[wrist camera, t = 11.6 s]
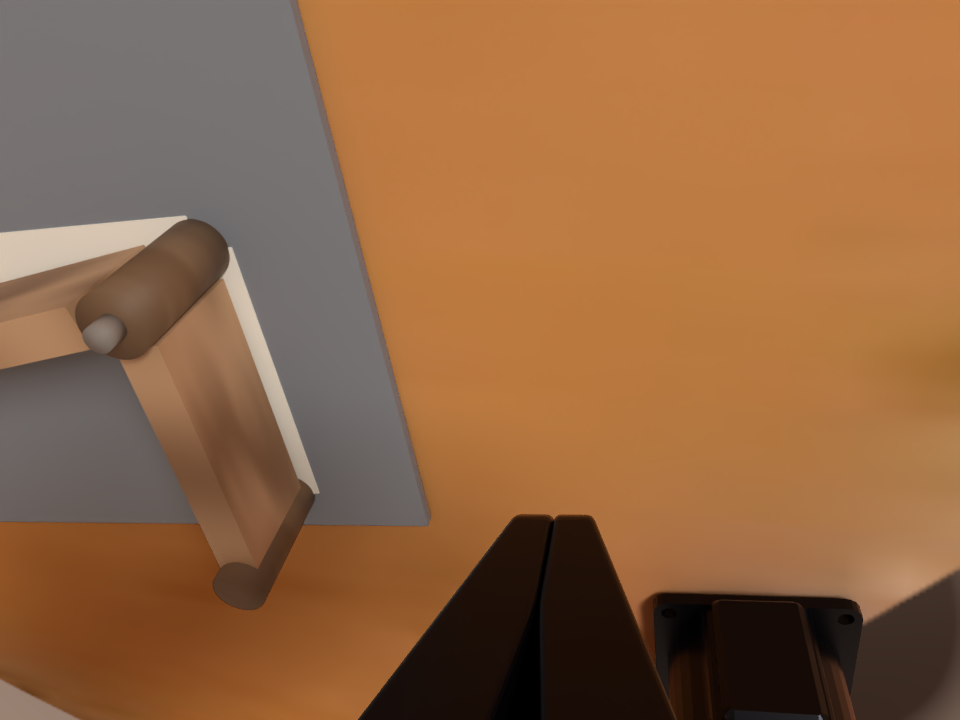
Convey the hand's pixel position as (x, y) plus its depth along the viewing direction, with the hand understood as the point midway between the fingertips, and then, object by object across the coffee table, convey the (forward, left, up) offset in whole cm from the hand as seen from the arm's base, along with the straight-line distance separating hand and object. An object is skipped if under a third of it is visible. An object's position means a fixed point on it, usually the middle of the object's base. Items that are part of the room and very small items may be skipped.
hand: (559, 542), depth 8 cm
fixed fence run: (-6, +11, -12) cm, 17 cm away
